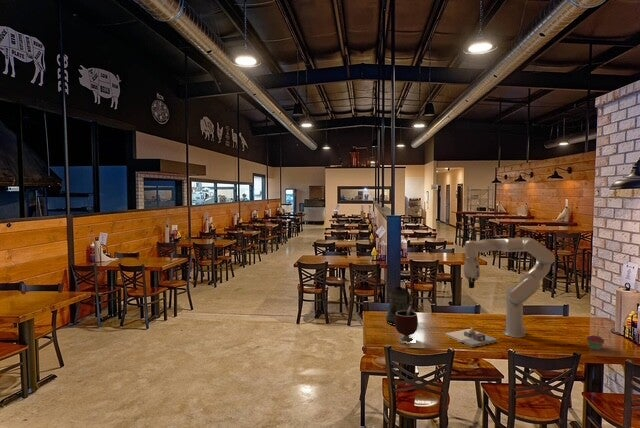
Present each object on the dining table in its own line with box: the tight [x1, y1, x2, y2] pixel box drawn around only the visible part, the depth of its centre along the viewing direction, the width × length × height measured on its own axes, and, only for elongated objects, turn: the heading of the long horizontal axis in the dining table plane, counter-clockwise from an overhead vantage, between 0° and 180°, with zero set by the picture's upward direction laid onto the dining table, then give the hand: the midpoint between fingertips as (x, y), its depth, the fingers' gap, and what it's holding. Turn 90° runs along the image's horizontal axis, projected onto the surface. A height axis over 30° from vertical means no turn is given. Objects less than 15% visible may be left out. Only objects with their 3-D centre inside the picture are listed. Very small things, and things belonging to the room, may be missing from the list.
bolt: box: [470, 326, 483, 340], centre depth 245 cm, size 10×2×6 cm, turn 24°
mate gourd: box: [394, 305, 419, 342], centre depth 249 cm, size 16×14×20 cm
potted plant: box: [385, 286, 412, 324], centre depth 286 cm, size 16×19×25 cm
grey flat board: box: [445, 328, 498, 348], centre depth 249 cm, size 22×20×5 cm
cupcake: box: [586, 328, 605, 351], centre depth 231 cm, size 9×8×12 cm
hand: (471, 287), depth 262 cm, fingers closed
